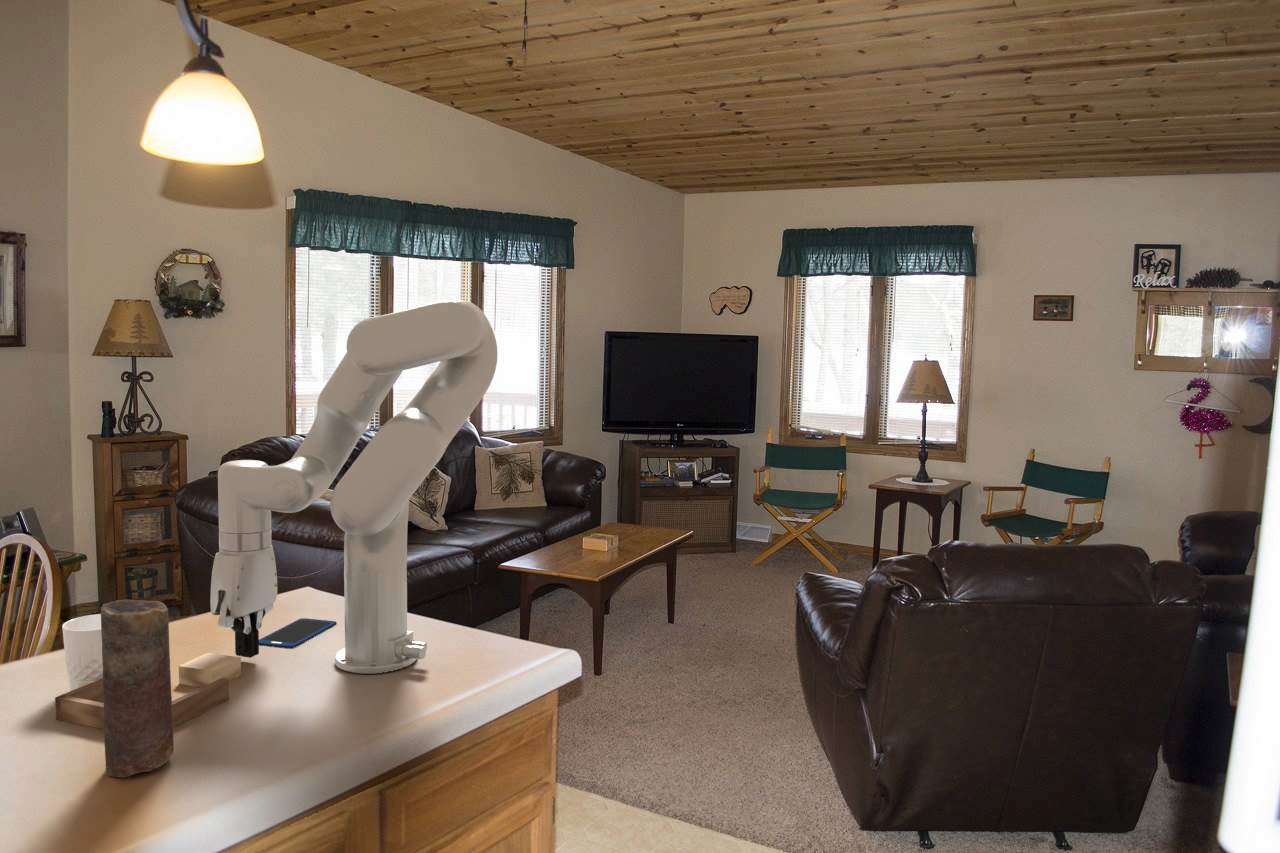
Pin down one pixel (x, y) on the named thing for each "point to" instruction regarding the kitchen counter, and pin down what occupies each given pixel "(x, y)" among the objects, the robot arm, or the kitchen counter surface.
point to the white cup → (83, 650)
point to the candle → (136, 686)
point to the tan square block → (209, 669)
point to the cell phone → (296, 633)
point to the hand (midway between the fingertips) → (247, 654)
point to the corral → (89, 703)
